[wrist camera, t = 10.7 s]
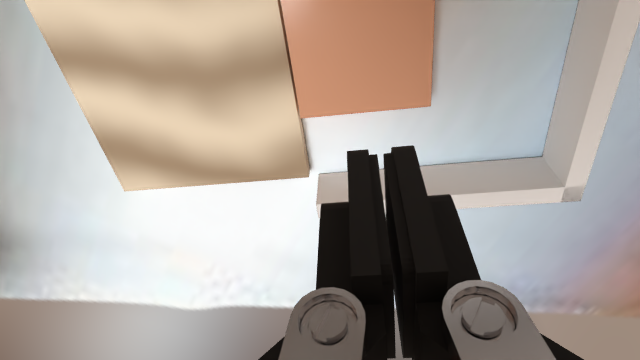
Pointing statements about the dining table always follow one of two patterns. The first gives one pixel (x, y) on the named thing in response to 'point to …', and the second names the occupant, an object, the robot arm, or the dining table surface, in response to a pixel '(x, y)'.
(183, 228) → the dining table surface
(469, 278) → the robot arm
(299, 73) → the tile
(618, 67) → the box
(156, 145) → the beige square board
